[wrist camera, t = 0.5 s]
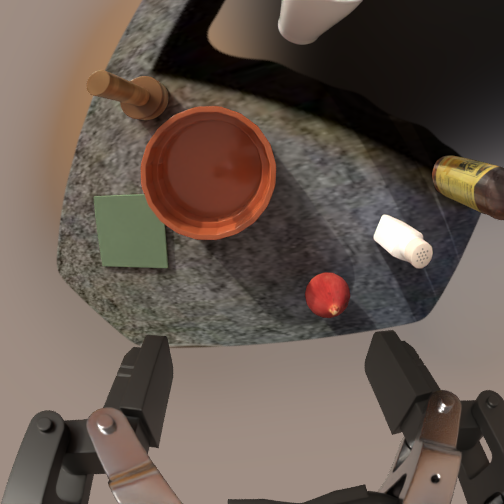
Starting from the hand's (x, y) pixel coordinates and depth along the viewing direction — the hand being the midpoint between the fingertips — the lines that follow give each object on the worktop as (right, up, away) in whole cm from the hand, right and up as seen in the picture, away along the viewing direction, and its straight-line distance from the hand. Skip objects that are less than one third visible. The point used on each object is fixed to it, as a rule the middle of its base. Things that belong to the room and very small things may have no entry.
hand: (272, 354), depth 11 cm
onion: (+9, 0, +30) cm, 31 cm away
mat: (-17, +7, +26) cm, 32 cm away
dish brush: (-13, +22, +20) cm, 33 cm away
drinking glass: (+5, +31, +17) cm, 36 cm away
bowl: (-6, +14, +24) cm, 28 cm away
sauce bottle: (+27, +15, +25) cm, 40 cm away
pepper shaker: (+18, +7, +28) cm, 34 cm away
